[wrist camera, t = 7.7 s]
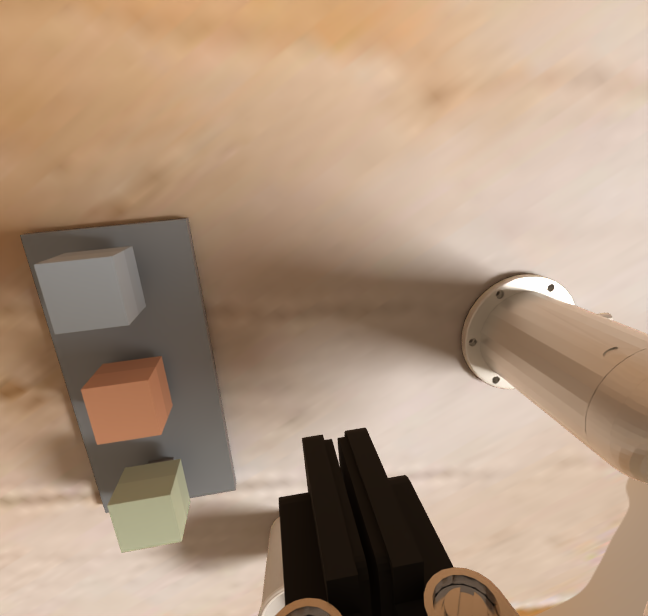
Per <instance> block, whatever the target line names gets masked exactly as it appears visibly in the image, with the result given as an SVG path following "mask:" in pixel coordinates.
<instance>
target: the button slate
mask: <svg viewBox="0 0 648 616" xmlns="http://www.w3.org/2000/svg"><path fill="white" fill-rule="evenodd" d="M34 267H35V271H36V274H37V277H38V281H39V284H40V287H41V290H42V294H43V297H44V300H45V303H46V307H47V310H48V313H49V317H50V320H51V323H52V326H53V330H54V333H55V334H62V333H70V332H78V331H86V330H94V329H103V328H111V327H119V326H127V325H130V324H131V322H132V321H133V320H134V319H135V318H136V317H137V316H138V315H139V314H140V313H141V311H142V310H143V309H144V308H145V307H146V304H145V299H144V295H143V291H142V286H141V282H140V277H139V273H138V269H137V264H136V260H135V255H134V251H133V247H132V246H128V247H118V248H108V249H99V250H89V251H79V252H69V253H64V254H61V255H58V256H56V257H53V258H50V259H47V260H45V261H42V262H39V263H37V264H34Z"/></svg>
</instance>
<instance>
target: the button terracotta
mask: <svg viewBox="0 0 648 616" xmlns="http://www.w3.org/2000/svg"><path fill="white" fill-rule="evenodd" d="M81 392H82V396H83V399H84V403H85V406H86V409H87V413H88V416H89V419H90V423H91V426H92V429H93V433H94V436H95V440H96V443H97V445H100V444H106V443H112V442H119V441H125V440H132V439H138V438H144V437H151V436H157V435H161V434H162V432H163V429H164V427H165V424H166V421H167V419H168V416H169V414H170V411H171V408H172V406H173V404H172V400H171V395H170V391H169V387H168V382H167V378H166V373H165V369H164V364H163V360H162V356H158V357H150V358H143V359H135V360H128V361H121V362H113V363H106V364H102V365H101V366H100V368H99V369H98V370H97V371H96V372H95V373H94V375H93V376H92V377H91V378H90V379H89V380H88V382H87V383H86V384H85V385H84V386H83V387H82V389H81Z"/></svg>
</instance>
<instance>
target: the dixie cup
mask: <svg viewBox="0 0 648 616" xmlns="http://www.w3.org/2000/svg"><path fill="white" fill-rule="evenodd" d="M283 607H285V595H284V579H283V563H282V546H281V530H280V516H279V517H278V518H277V519H276V520H275V521H274V523H273V524H272V526H271V529H270V537H269V545H268V554H267V562H266V571H265V579H264V588H263V597H262V605H261V608H260V610H259V614H258V616H275V615H276V614H277V613H278V612H279V611H280V610H281V609H282V608H283Z"/></svg>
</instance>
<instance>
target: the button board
mask: <svg viewBox="0 0 648 616" xmlns="http://www.w3.org/2000/svg"><path fill="white" fill-rule="evenodd" d="M20 237H21V240H22V243H23V247H24V250H25V253H26V256H27V260H28V263H29V266H30V269H31V272H32V276H33V279H34V282H35V285H36V289H37V292H38V295H39V298H40V302H41V305H42V308H43V311H44V315H45V318H46V321H47V324H48V328H49V331H50V334H51V337H52V341H53V344H54V347H55V350H56V354H57V357H58V360H59V363H60V366H61V370H62V373H63V376H64V379H65V383H66V386H67V389H68V392H69V396H70V399H71V402H72V405H73V409H74V412H75V415H76V418H77V422H78V425H79V428H80V431H81V435H82V438H83V441H84V444H85V448H86V451H87V454H88V457H89V460H90V464H91V467H92V470H93V473H94V477H95V480H96V483H97V486H98V490H99V493H100V496H101V499H102V503H103V506H104V509H105V512H106V513H108V512H109V510H108V507H107V505H108V503H109V501H110V499H111V497H112V494H113V492H114V490H115V488H116V486H117V484H118V482H119V479H120V477H121V475H122V473H123V471H124V469H125V468H126V467H133V466H139V465H145V464H151V463H157V462H163V461H169V460H175V459H181V462H182V467H183V471H184V476H185V480H186V484H187V489H188V493H189V498H194V497H199V496H205V495H211V494H217V493H222V492H228V491H234V490H236V478H235V473H234V467H233V462H232V456H231V451H230V445H229V440H228V434H227V429H226V423H225V418H224V412H223V407H222V401H221V396H220V390H219V385H218V379H217V374H216V368H215V363H214V357H213V352H212V346H211V341H210V335H209V330H208V324H207V319H206V313H205V308H204V302H203V297H202V291H201V286H200V280H199V275H198V269H197V264H196V258H195V253H194V247H193V242H192V236H191V231H190V225H189V220H188V218H182V219H172V220H161V221H151V222H141V223H130V224H120V225H110V226H99V227H89V228H79V229H68V230H58V231H48V232H37V233H28V234H23V235H20ZM128 246H132V247H133V251H134V255H135V260H136V264H137V269H138V273H139V277H140V282H141V286H142V291H143V295H144V299H145V304H146V307H145V308H144V309H143V310H142V311H141V313H140V314H139V315H138V316H137V317H136V318H135V319H134V320H133V321H132V322H131V324H130V325H127V326H119V327H111V328H103V329H94V330H86V331H78V332H70V333H62V334H55V333H54V330H53V326H52V323H51V320H50V317H49V313H48V310H47V307H46V303H45V300H44V297H43V294H42V290H41V287H40V284H39V281H38V277H37V274H36V271H35V267H34V264H37V263H39V262H42V261H45V260H47V259H50V258H53V257H56V256H58V255H61V254H64V253H69V252H79V251H89V250H99V249H108V248H118V247H128ZM158 356H162V360H163V364H164V369H165V373H166V378H167V382H168V387H169V391H170V395H171V400H172V404H173V406H172V408H171V411H170V414H169V416H168V419H167V421H166V424H165V427H164V429H163V432H162V434H161V435H157V436H151V437H144V438H138V439H132V440H125V441H119V442H112V443H106V444H100V445H97V443H96V440H95V436H94V433H93V429H92V426H91V423H90V419H89V416H88V413H87V409H86V406H85V403H84V399H83V396H82V392H81V389H82V387H83V386H84V385H85V384H86V383H87V382H88V380H89V379H90V378H91V377H92V376H93V375H94V373H95V372H96V371H97V370H98V369H99V368H100V366H101V365H102V364H106V363H113V362H121V361H128V360H135V359H143V358H150V357H158Z"/></svg>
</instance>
